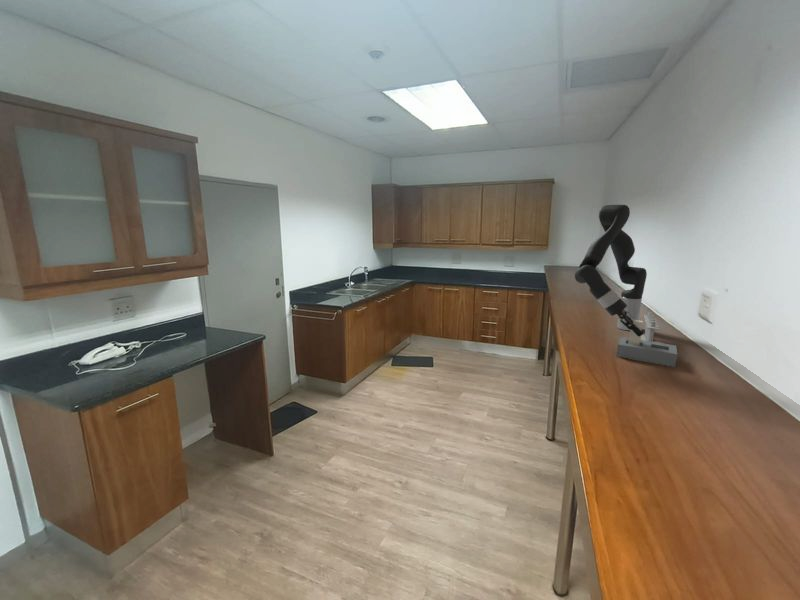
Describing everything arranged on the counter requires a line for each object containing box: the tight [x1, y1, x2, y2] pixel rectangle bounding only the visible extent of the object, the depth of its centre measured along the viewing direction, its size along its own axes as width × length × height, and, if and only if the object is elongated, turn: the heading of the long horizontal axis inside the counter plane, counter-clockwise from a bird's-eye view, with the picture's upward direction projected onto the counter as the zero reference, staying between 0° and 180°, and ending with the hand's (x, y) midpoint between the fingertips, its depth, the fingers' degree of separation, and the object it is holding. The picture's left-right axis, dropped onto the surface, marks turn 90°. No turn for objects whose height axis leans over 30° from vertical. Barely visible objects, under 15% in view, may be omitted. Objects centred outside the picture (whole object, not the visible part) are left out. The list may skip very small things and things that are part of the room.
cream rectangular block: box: [628, 319, 644, 345], centre depth 149 cm, size 3×4×13 cm
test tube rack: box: [640, 311, 660, 342], centre depth 163 cm, size 25×4×13 cm, turn 149°
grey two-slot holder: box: [615, 336, 678, 368], centre depth 147 cm, size 12×20×6 cm, turn 53°
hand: (641, 334), depth 147 cm, fingers closed on cream rectangular block, 3 cm apart
